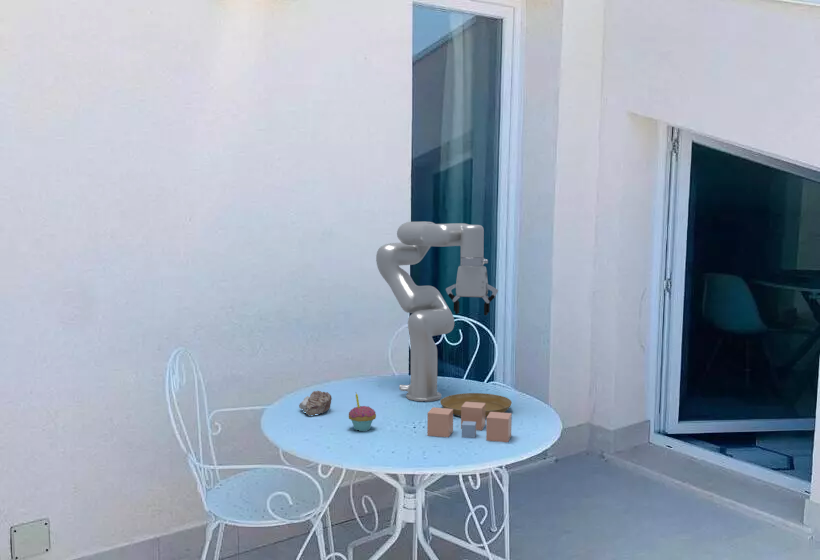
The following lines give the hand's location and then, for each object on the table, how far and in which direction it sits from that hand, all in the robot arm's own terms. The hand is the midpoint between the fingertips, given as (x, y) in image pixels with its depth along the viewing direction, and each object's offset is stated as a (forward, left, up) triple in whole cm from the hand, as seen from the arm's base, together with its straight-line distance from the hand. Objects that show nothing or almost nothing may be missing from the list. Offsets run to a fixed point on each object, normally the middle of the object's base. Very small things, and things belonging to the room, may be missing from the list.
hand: (471, 314), depth 260 cm
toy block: (+4, -16, -33) cm, 37 cm away
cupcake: (-29, -27, -34) cm, 52 cm away
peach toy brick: (-4, -25, -33) cm, 42 cm away
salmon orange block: (+14, -25, -33) cm, 44 cm away
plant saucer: (+1, +4, -34) cm, 34 cm away
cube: (+4, -25, -33) cm, 42 cm away
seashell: (-51, -12, -34) cm, 62 cm away
